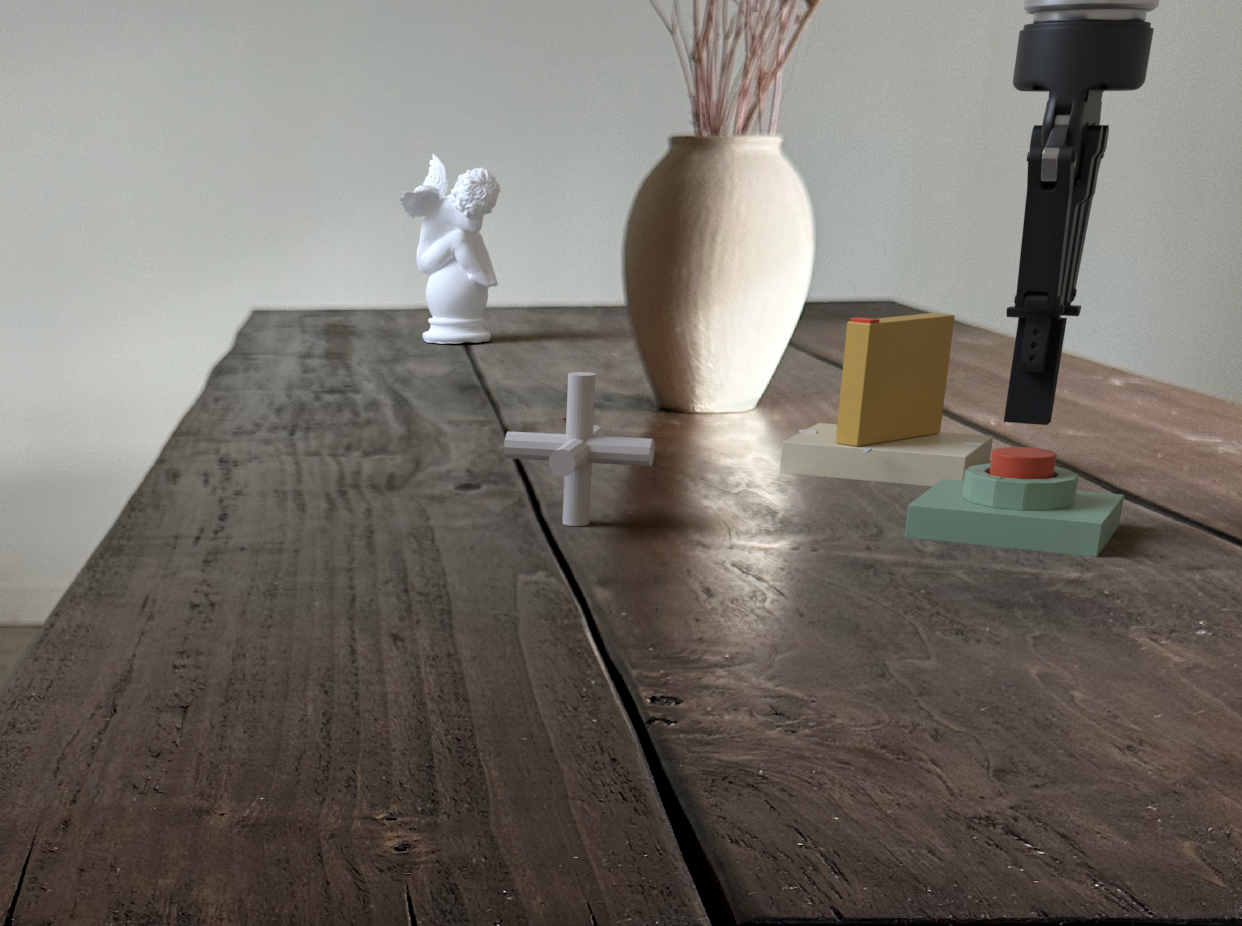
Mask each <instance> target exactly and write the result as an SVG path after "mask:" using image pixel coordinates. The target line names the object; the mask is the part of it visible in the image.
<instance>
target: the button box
mask: <svg viewBox="0 0 1242 926" xmlns="http://www.w3.org/2000/svg"><path fill="white" fill-rule="evenodd" d="M990 465H991V462H990V463H988V464H981V465H974V466H970V467H969V468H968V469H967V470H965V475H964V481H960V480H948V479H942V480H940V481H939V482H938V483H937V484H935V485H934V486H933V487H930V488H929V489H927V490H926V491H925V492H924V493H922V494H921V495H920V496H918V497H917V498H915V499H914V500H913V501H912V502H910V503H909V504H908V506H907V513H906V523H905V530H904V538H905V539H915V540H925V541H934V542H944V543H954V544H964V545H973V546H981V547H994V548H1002V549H1013V550H1022V551H1031V552H1039V553H1051V554H1061V555H1070V556H1080V557H1089V558H1097V557H1099V555H1100V553H1101V552H1102V551H1103V549H1104V548H1105V547H1106V545H1107V544H1108V542H1109V541H1110V540H1111V538H1112V537H1113V536H1114V534H1115V533H1116V531H1117V530H1118V529H1119V528H1120V522H1121V517H1122V511H1123V505H1124V499H1125V494H1120V493H1109V492H1108V493H1107V492H1096V491H1086V490H1085V491H1084V490H1077V487H1078V483H1079V474H1078V473H1076V472H1074V471H1071V470H1069V469H1068V468H1062V467H1057V466H1055V469H1054V476H1053V478H1048V479H1016V478H1005V477H1000V476H995V475H990V474H989V472H990Z"/></svg>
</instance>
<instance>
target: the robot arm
mask: <svg viewBox="0 0 1242 926" xmlns="http://www.w3.org/2000/svg"><path fill="white" fill-rule="evenodd" d="M1160 1H1161V0H1024V3H1023V10H1024V11H1025V12H1026V14H1028V15H1032V23H1027V24H1024V25H1023V29H1021V30H1019V32H1018V40H1017V48H1016V57H1015V62H1014V70H1013V75H1012V76H1013V78H1012V85H1013V87H1014V89H1016V90H1017V91H1019V92H1036V93H1037V92H1038V93H1039V92H1041V93H1045V92H1046V93H1047V92H1048V99H1047V101H1046V105H1045V110H1044V115H1043V119H1042V123H1041V124H1034V125H1033V127H1032V130H1031V131H1032V132H1031V136H1030V142H1029V152H1027V155H1026V162H1027V179H1026V180H1027V181H1026V195H1025V203H1024V204H1025V205H1024V215H1023V225H1022V237H1021V243H1020V245H1021V246H1020V253H1019V265H1018V275H1017V284H1016V294H1015V295H1014V300H1013V303H1014V306H1012V305H1011V306H1009V307H1007V308H1006V317H1007V318H1018V319H1017V325H1016V326H1017V327H1016V334H1015V340H1014V347H1013V354H1012V361H1011V368H1010V375H1009V382H1008V389H1007V395H1006V401H1005V402H1006V403H1005V409H1004V417H1003V423H1014V424H1025V425H1026V424H1028V425H1038V426H1039V425H1041V426H1048V425H1049V424H1050V423H1052V418H1053V411H1054V405H1055V397H1056V392H1057V386H1058V379H1059V372H1060V365H1061V360H1062V352H1063V348H1064V340H1065V333H1066V328H1067V321H1068V317H1079V316H1080V314H1081V310H1082V305H1077V304H1072V303H1073V302H1074V301H1075V298H1076V297H1077V293H1078V289H1077V285H1078V278H1079V274H1080V269H1081V263H1082V257H1083V252H1084V248H1085V247H1084V246H1085V242H1086V237H1087V231H1088V225H1089V220H1090V215H1091V209H1092V205H1093V200H1094V196H1095V194H1096V189H1097V183H1098V176H1099V171H1100V167H1101V162H1102V160H1103V159H1104V157H1105V153H1106V150H1107V147H1108V146H1107V145H1108V140H1109V132H1110V125H1109V124H1101V118H1102V117H1101V116H1102V115H1101V114H1102V107H1103V101H1102V99H1103V93H1104V92H1129V91H1130V92H1131V91H1136V90H1139V89H1141V87H1142V86H1143V85H1144V84H1145V82H1146V79H1147V72H1148V66H1149V61H1150V53H1151V48H1152V42H1153V41H1152V40H1153V36H1154V31H1155V28H1154V27H1151V26H1152V24H1151V22H1150V21H1146V19H1147V13H1148V12H1153V11H1154V10H1155V9H1157V8H1158V7H1159V6H1160ZM1062 316H1064V317H1062Z"/></svg>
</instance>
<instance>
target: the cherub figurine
mask: <svg viewBox="0 0 1242 926" xmlns="http://www.w3.org/2000/svg"><path fill="white" fill-rule="evenodd" d="M431 157H432V159H430V160H429V165H430V166H429V168H428V173H427V175H426V176H425V179H424V181H423V183H422V184H421V185H418V186H417V187H415V188H414V190H413V191H407V190H404V191H402V192H401V196H400V197H399V202H400V205H401V209H403V211H404V212H405V213H406V216H407V217H411V219H415V218H421V217H423V219H422V222H421V227H420V233H419V241H418V245H417V247H416V255H415V256H416V257H415V258H416V265H417V269H418V271H420V272H421V273H422V274H423V275H426V276H429V277H428V279H427V284H426V287H425V301H426V306H427V308H428V311H429V313H430V315H431V316H432V317H429V318H428V319H427V322H428V324H429V325H430V327H429V329H428V330H426V331H424V332H423V333H422V339H423V341H424V342H426V343H429V344H430V343H431V344H444V345H446V344H450V345H451V344H462V343H465V342H466V343H470V344H471V343H473V344H474V343H476V344H478V343H482V342H485V343H486V342H489V341H490V340H491V336H492V334H491V332H490V331H487V330H485V329H484V324H485V323H486V319H485V317H483V313H484V311H485V309H486V307H487V304H488V298H489V289H490V288H492V287H498V286H499V282H498V279H497V277H496V273H495V270H494V266H493V263H492V262H493V261H492V259H491V256H490V253H489V251H488V249H487V247H486V244H485V241H484V238H483V235H482V234H481V233H480V231H481V230H482V228H483V221H484V216H485V215H489V214H491V213H492V212H493V209H494V208H495V207H496V205H497V201H498V198H499V195H500V193H501V185H500V184H499V183H498V181H497V179H496V176H495V175H494V174H493V173H492V172H491V171H489V170H488V169H487V168H485V167H475V168H473V169H467V170H466V172H465V173H460V174H459V175H458V177H457V180H456V182H455V183H454V186H453V188H452V189H449V188H448V185H449V173H448V170H447V166H445V163H443V162H442V161H441V159H440V158H439V157H438V156H437V155H436V154H435V153H434V152H433V153H432V156H431ZM448 190H449V191H451V192H450V194H448V195H446V193H447V191H448Z"/></svg>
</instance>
